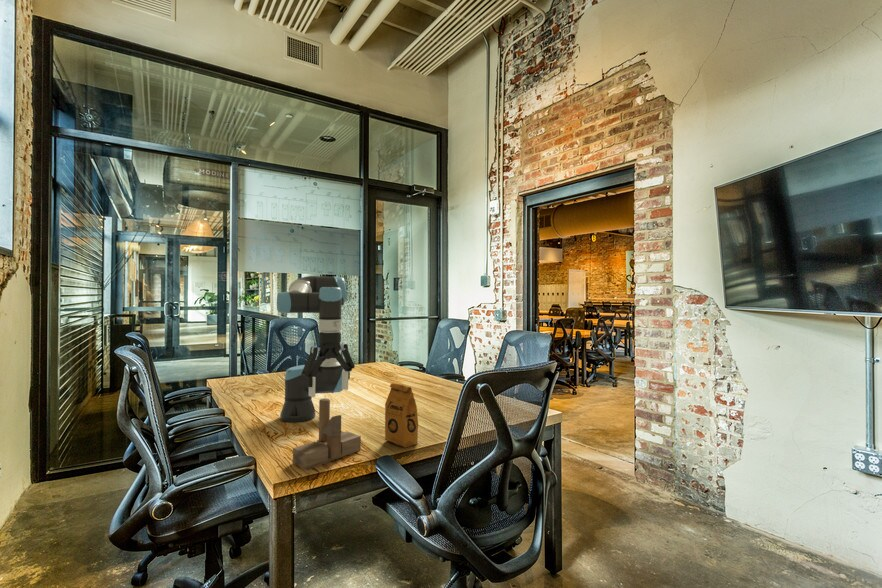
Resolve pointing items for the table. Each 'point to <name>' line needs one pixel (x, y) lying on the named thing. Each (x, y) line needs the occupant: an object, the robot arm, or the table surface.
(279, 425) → the table surface
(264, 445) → the table surface
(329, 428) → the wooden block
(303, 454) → the slotted sill
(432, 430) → the table surface
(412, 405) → the coffee package
